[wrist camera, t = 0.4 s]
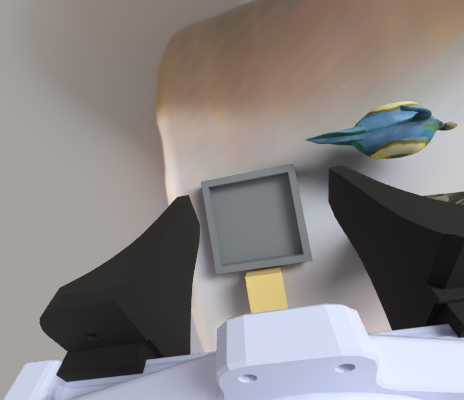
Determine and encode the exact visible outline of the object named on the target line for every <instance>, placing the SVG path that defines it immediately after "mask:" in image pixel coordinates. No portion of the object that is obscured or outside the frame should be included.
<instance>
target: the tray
mask: <svg viewBox="0 0 464 400" xmlns="http://www.w3.org/2000/svg"><path fill="white" fill-rule="evenodd" d="M201 185H202V192H203V198H204V204H205V210H206V216H207V223H208V229H209V235H210V241H211V247H212V253H213V260H214V266H215V272H216V274H222V273H229V272H236V271H244V270H251V269H258V268H265V267H272V266H279V265H286V264H294V263H301V262H308V261H312V256H311V251H310V246H309V241H308V235H307V230H306V225H305V220H304V215H303V209H302V204H301V199H300V194H299V189H298V183H297V178H296V173H295V168H294V164H290V165H285V166H280V167H275V168H270V169H264V170H259V171H254V172H249V173H244V174H239V175H234V176H228V177H223V178H218V179H213V180H208V181H203V182H201Z"/></svg>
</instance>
